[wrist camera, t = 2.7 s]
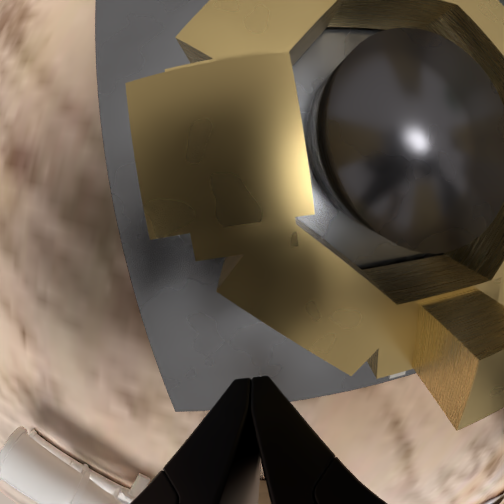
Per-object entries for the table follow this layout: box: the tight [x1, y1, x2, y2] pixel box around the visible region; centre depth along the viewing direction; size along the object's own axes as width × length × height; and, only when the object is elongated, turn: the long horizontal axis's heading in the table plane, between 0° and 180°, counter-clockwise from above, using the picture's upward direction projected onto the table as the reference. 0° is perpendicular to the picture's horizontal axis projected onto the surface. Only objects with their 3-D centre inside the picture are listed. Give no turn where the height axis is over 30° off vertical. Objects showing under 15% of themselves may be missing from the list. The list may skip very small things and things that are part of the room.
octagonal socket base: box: [125, 0, 504, 431], centre depth 6 cm, size 13×13×6 cm
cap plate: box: [95, 0, 504, 412], centre depth 9 cm, size 20×20×4 cm
